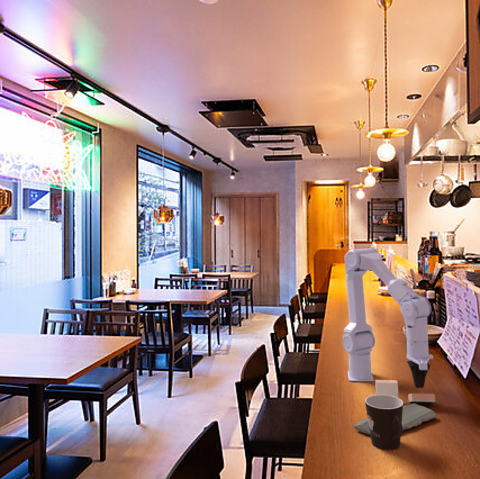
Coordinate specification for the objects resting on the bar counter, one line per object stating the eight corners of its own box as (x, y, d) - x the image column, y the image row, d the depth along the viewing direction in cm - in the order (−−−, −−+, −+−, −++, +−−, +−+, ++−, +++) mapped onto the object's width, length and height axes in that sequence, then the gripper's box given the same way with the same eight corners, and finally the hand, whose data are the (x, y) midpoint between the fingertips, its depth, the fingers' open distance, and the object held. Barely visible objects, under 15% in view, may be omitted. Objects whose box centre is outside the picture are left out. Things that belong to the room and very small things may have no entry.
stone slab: (439, 422, 116) (407, 406, 124) (440, 412, 116) (407, 396, 124) (380, 447, 104) (349, 427, 113) (381, 436, 104) (350, 417, 113)
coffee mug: (366, 433, 110) (365, 393, 110) (403, 436, 108) (402, 395, 107) (366, 457, 99) (364, 412, 99) (407, 461, 96) (405, 415, 96)
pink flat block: (408, 394, 129) (411, 393, 123) (430, 394, 128) (434, 393, 122) (408, 401, 128) (412, 401, 123) (431, 402, 127) (435, 401, 121)
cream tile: (376, 400, 131) (375, 379, 130) (397, 400, 129) (396, 380, 129) (376, 402, 129) (376, 382, 128) (398, 403, 127) (397, 382, 127)
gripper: (438, 346, 119) (440, 396, 120) (426, 333, 134) (428, 378, 134) (410, 346, 121) (413, 396, 121) (401, 334, 135) (403, 378, 135)
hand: (419, 387), depth 127 cm, fingers closed
